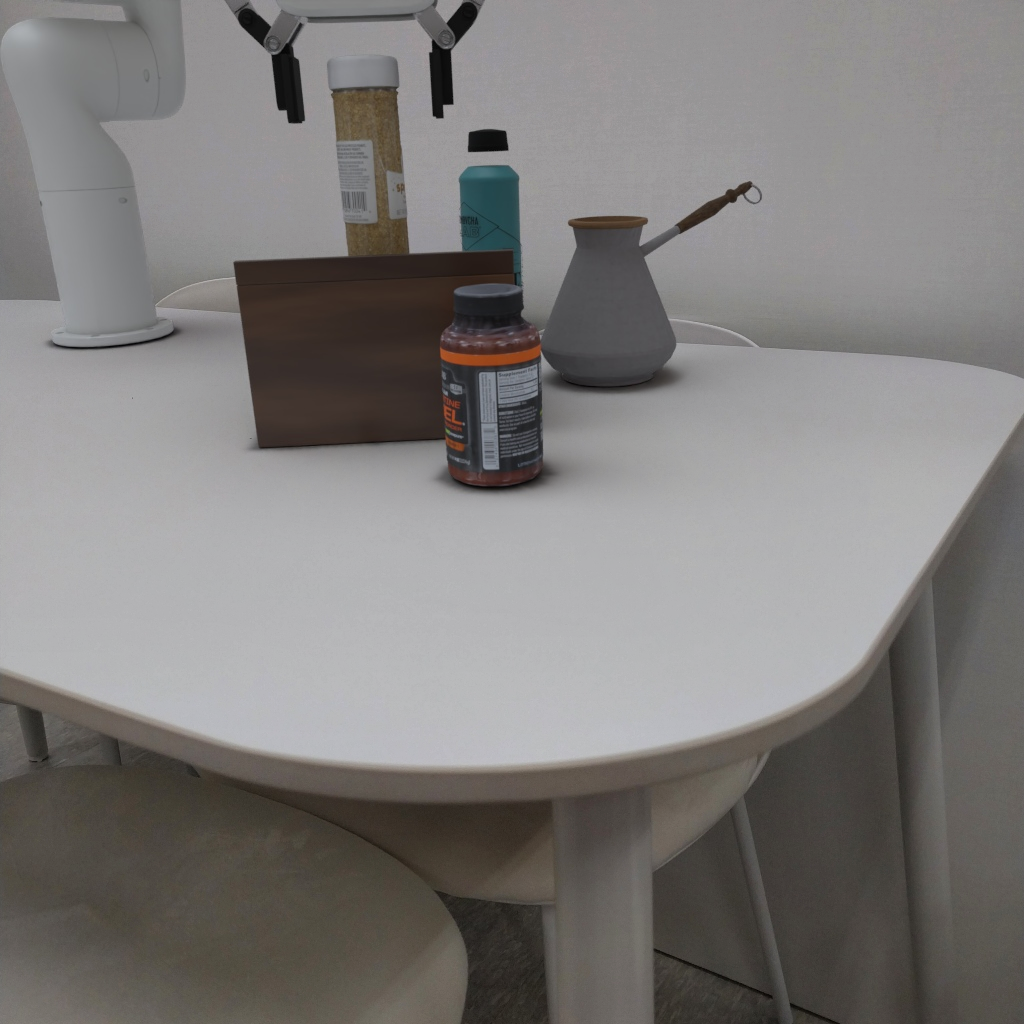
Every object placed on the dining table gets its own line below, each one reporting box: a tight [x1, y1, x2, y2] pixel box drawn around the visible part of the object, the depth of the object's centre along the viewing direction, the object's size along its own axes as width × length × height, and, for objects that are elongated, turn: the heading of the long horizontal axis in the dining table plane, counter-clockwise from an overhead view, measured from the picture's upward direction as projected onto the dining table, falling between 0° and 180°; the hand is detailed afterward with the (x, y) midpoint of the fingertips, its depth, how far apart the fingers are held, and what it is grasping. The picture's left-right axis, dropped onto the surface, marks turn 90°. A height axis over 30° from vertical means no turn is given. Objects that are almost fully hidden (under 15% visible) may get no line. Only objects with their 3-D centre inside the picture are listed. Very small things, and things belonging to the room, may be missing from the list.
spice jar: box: [326, 54, 410, 256], centre depth 65 cm, size 5×5×13 cm
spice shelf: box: [232, 249, 514, 448], centre depth 72 cm, size 16×18×12 cm
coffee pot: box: [540, 180, 763, 387], centre depth 82 cm, size 21×12×15 cm, turn 119°
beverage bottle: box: [458, 128, 525, 313], centre depth 101 cm, size 6×7×20 cm
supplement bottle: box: [440, 284, 544, 488], centre depth 58 cm, size 6×6×11 cm
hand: (367, 120), depth 64 cm, fingers open, 8 cm apart
